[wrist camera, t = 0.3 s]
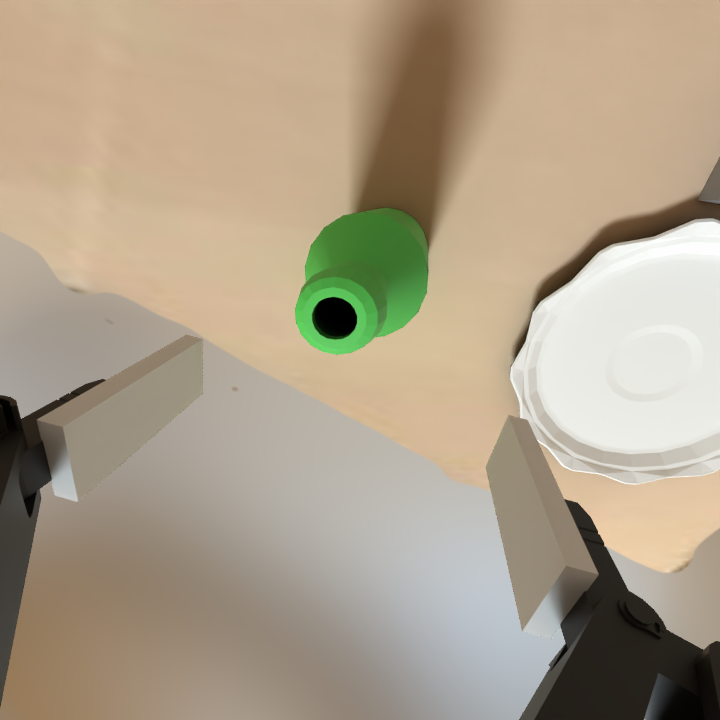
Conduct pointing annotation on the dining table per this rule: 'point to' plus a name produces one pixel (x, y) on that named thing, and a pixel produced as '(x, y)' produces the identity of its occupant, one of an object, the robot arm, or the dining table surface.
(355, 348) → the bottle
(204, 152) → the dining table surface
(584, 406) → the plate
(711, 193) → the housing
